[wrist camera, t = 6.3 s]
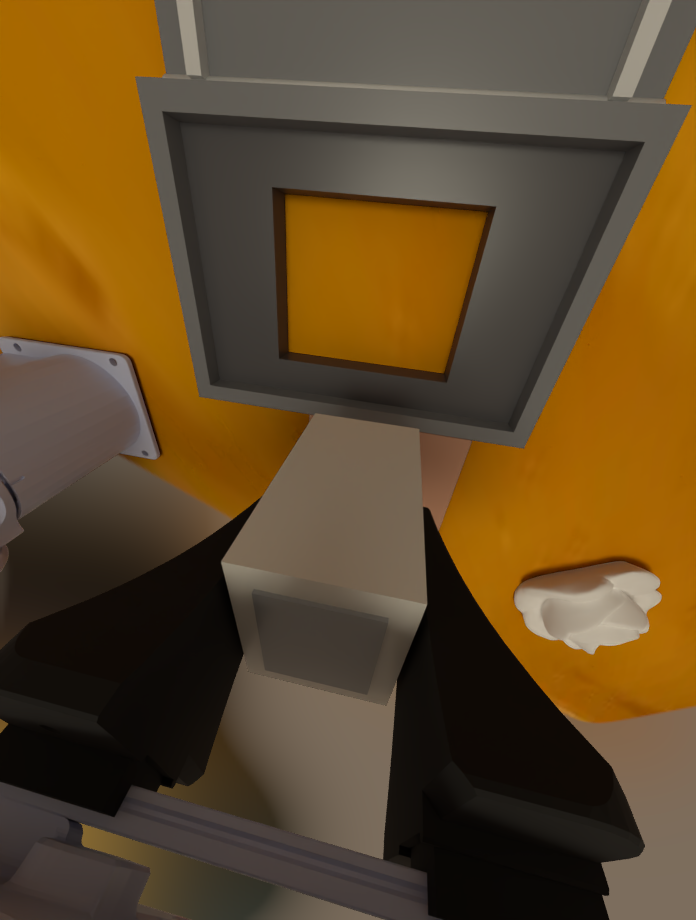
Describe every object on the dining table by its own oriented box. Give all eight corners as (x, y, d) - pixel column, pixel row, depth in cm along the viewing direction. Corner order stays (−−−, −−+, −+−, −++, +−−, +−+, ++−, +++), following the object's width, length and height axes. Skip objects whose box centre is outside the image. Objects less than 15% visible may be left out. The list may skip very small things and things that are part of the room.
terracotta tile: (309, 521, 25) (307, 526, 25) (311, 410, 19) (309, 414, 19) (430, 544, 24) (431, 550, 24) (470, 435, 18) (472, 440, 18)
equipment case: (223, 393, 20) (201, 409, 18) (36, -841, 6) (-171, -1449, 4) (505, 438, 18) (517, 460, 16) (1212, -1169, 4) (2033, -2633, 2)
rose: (596, 586, 18) (750, 637, 18) (564, 531, 21) (692, 573, 22) (502, 655, 24) (619, 694, 24) (489, 602, 27) (591, 635, 27)
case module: (313, 508, 14) (247, 675, 9) (315, 413, 12) (218, 565, 6) (396, 523, 14) (385, 710, 8) (419, 428, 11) (427, 609, 5)
